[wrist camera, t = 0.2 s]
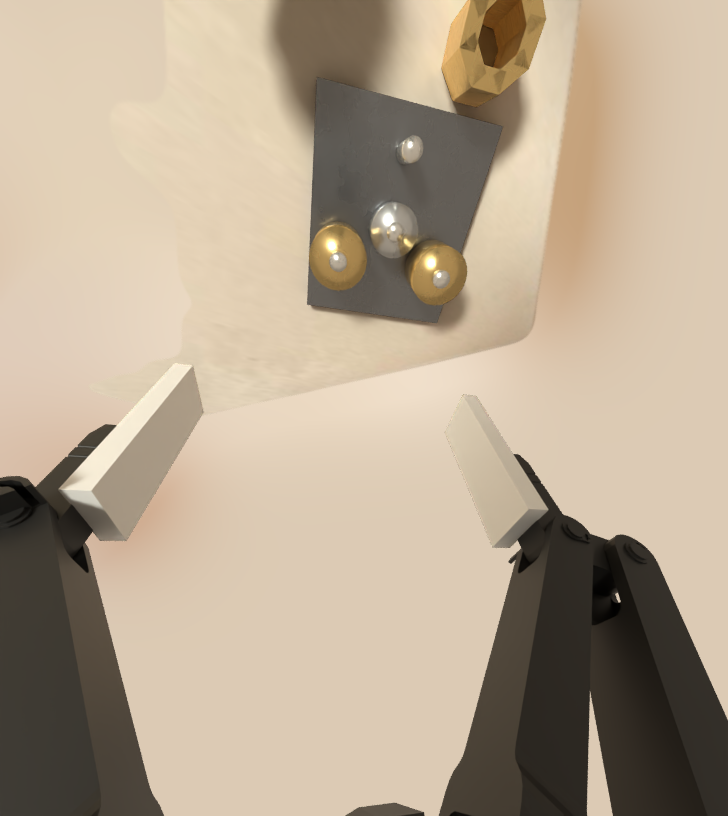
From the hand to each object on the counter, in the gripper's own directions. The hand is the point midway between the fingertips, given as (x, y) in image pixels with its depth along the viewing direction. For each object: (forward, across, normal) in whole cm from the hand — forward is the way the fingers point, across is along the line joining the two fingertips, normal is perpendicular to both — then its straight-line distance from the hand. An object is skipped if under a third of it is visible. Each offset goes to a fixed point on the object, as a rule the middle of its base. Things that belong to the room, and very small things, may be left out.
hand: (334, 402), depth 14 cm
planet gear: (+28, +10, +20) cm, 35 cm away
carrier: (+28, +5, +6) cm, 29 cm away
